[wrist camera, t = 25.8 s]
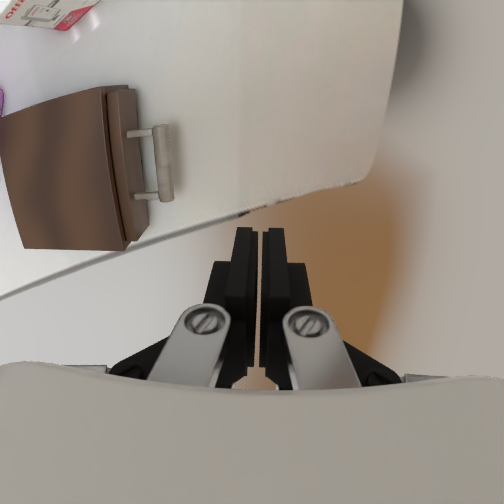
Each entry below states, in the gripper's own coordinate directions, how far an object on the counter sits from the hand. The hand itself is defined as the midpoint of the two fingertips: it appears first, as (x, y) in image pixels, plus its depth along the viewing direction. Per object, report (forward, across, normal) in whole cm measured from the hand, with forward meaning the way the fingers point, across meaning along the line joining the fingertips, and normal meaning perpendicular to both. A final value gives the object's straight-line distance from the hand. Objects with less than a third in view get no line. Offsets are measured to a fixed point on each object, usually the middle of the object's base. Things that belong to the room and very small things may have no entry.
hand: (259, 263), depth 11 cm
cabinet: (+19, +20, 0) cm, 28 cm away
